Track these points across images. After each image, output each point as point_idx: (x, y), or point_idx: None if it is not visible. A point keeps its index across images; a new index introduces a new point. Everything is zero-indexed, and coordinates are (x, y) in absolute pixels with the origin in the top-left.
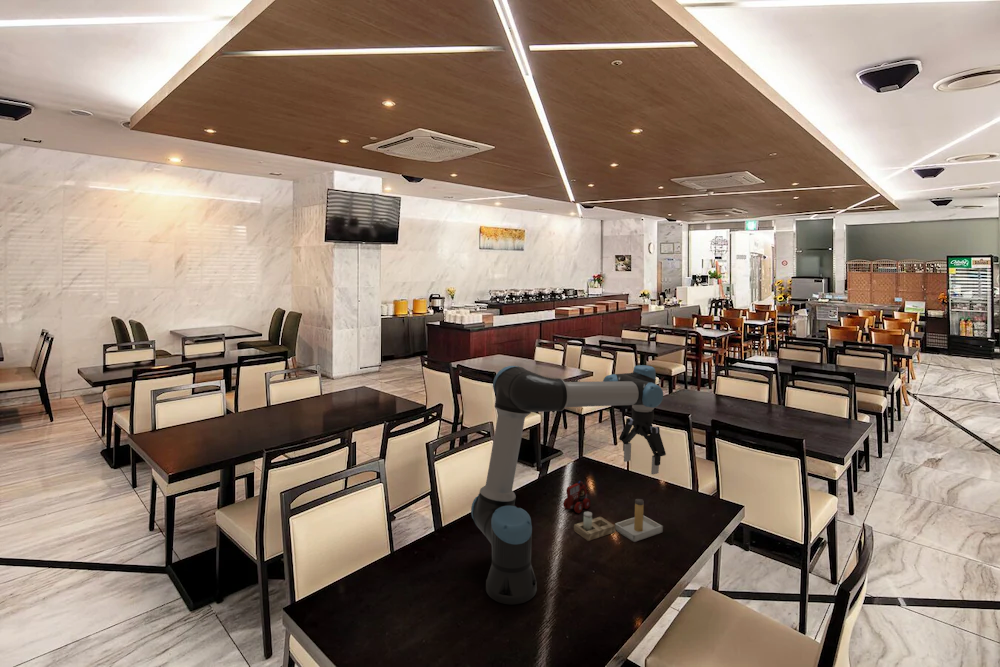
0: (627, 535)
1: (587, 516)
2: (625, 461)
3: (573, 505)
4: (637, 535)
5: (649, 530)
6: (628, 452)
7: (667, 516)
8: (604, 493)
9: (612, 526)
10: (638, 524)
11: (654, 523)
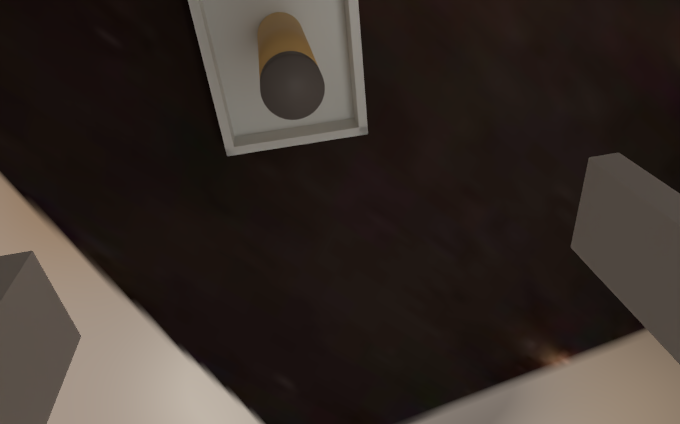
0: None
1: None
2: (589, 165)
3: None
4: None
5: (203, 60)
6: (672, 298)
7: (344, 242)
8: (663, 114)
9: None
10: (262, 30)
11: (273, 138)
